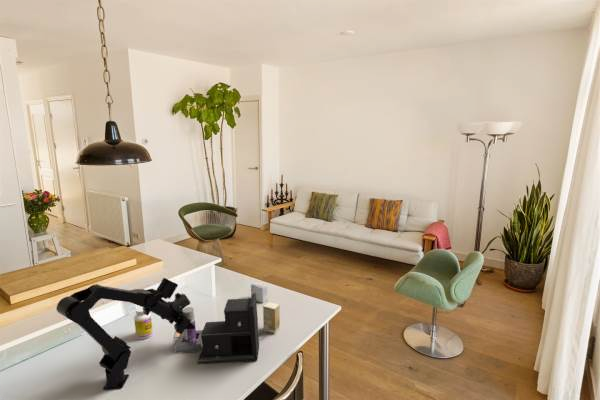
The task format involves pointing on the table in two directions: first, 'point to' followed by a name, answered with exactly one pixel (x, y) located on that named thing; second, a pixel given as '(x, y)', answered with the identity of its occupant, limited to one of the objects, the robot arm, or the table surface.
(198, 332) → the steel collar
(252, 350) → the black drawer cabinet
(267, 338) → the table surface
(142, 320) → the supplement bottle
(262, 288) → the medicine box
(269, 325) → the skincare box
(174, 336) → the mat
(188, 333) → the container
